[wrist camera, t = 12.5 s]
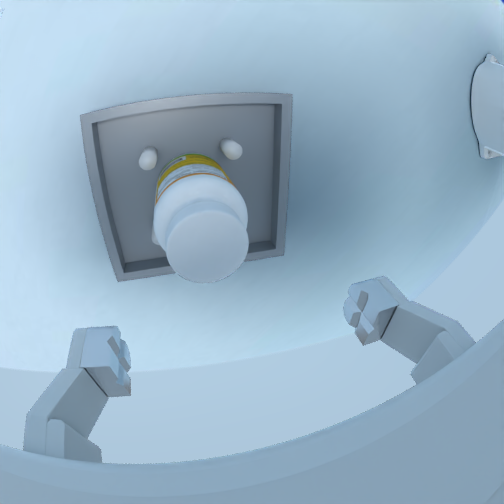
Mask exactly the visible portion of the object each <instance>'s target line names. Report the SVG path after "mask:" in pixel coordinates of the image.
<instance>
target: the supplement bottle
mask: <svg viewBox="0 0 504 504" xmlns="http://www.w3.org/2000/svg"><path fill="white" fill-rule="evenodd" d="M247 223H248V213H247V207H246V204H245V202H244V200H243V198H242V196H241V194H240V193H239V191H238V190H237V188H236V187H235V186H234V184H233V183H232V181H231V180H230V179H229V177H228V176H227V175H226V173H225V172H224V171H223V169H222V168H221V166H220V165H219V164H218V163H217V162H216V161H215V160H213V159H212V158H210V157H208V156H206V155H203V154H200V153H186V154H182V155H179V156H177V157H175V158H174V159H172V160H171V161H169V162H168V163H167V164H166V165H165V166H164V168H163V169H162V171H161V173H160V175H159V177H158V181H157V187H156V196H155V207H154V219H153V224H154V232H155V235H156V238H157V240H158V242H159V244H160V246H161V247H162V248H163V250H164V251H165V252H166V255H167V259H168V262H169V264H170V266H171V267H172V269H173V270H174V271H175V272H176V273H177V274H178V275H180V276H181V277H183V278H185V279H187V280H189V281H192V282H197V283H211V282H216V281H219V280H222V279H224V278H226V277H228V276H229V275H231V274H232V273H234V272H235V271H236V270H237V269H238V268H239V267H240V266H241V264H242V263H243V261H244V260H245V258H246V255H247V252H248V247H249V239H248V234H247V231H246V228H247Z"/></svg>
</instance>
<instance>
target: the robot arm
mask: <svg viewBox="0 0 504 504" xmlns="http://www.w3.org/2000/svg"><path fill="white" fill-rule="evenodd" d="M471 107H472V118H473V124H474V129H475V132H476V135H477V138H478V141H479V148H480V156H481V158H484V159H490V158H494V157H498V156H504V65H501V64H499V62H498V61H497V59H496V58H495V56H494V55H491V54H487V56H486V59H485V61H484V62H483V63H482V64H480V65H479V66H478V68H477V69H476V72H475V75H474V78H473V84H472V94H471ZM348 294H349V295H350V296H349V297H348V298H347V300H346V301H345V303H344V307H343V310H344V316H345V319H346V321H347V322H348V324H349V325H351V326H353V327H355V334H356V335H357V337H358V338H359V340H360V341H361V343H362V344H363V346H364V345H366V344H369V343H372V342H375V341H378V340H381V341H382V342H384V343H385V344H387V345H388V346H390V347H391V348H393V349H395V350H396V351H398V352H399V353H401V354H402V355H404V356H405V357H407V358H409V359H410V360H412V361H413V362H415V363H416V364H417V365H416V366H415V367H414V368H413V370H412V371H411V376H412V378H413V379H414V381H415V382H416V384H417V385H415V386H413V387H412V388H410V389H408V390H406V391H404V392H403V393H401V394H399V395H397V396H395V397H394V398H392V399H390V400H388V401H386V402H384V403H382V404H380V405H378V406H376V407H374V408H372V409H370V410H368V411H366V412H363V413H361V414H359V415H357V416H355V417H352V418H350V419H348V420H345V421H343V422H341V423H338V424H335V425H333V426H330V427H328V428H325V429H322V430H320V431H317V432H314V433H311V434H308V435H305V436H302V437H299V438H296V439H293V440H290V441H286V442H283V443H279V444H276V445H272V446H268V447H264V448H261V449H256V450H252V451H247V452H243V453H238V454H232V455H227V456H222V457H215V458H209V459H201V460H193V461H184V462H172V463H156V464H112V463H102V457H101V449H100V448H99V447H98V446H97V445H95V444H94V443H92V442H91V441H89V440H88V437H89V434H90V433H91V431H92V428H93V427H94V425H95V423H96V421H97V419H98V417H99V415H100V414H101V412H102V410H103V408H104V406H105V404H106V402H107V401H108V397H119V396H130V395H131V379H130V377H129V376H128V374H127V372H128V371H129V369H130V368H131V360H130V353H129V350H128V346H127V344H126V342H125V341H123V340H122V339H120V336H121V332H120V331H119V329H118V327H117V326H105V327H90V328H78V329H75V331H74V332H73V336H72V341H71V345H70V350H69V355H68V360H67V366H66V369H62V370H61V371H60V372H59V374H58V375H57V376H56V377H55V379H54V380H53V381H52V382H51V384H50V385H49V386H48V387H47V389H46V390H45V391H44V392H43V394H42V395H41V396H40V398H39V399H38V400H37V401H36V403H35V404H34V406H33V407H32V408H31V409H30V411H29V412H28V414H27V416H26V424H25V433H24V446H23V447H24V448H23V450H19V449H16V448H12V447H9V446H5V445H2V444H0V504H504V319H503V320H502V321H501V322H500V323H499V324H498V325H497V326H495V327H494V328H493V329H492V330H491V331H490V332H489V333H487V334H486V335H485V336H484V337H483V338H482V339H480V340H479V341H478V342H477V343H476V342H475V341H474V340H473V338H472V337H471V336H470V335H469V334H468V332H467V331H466V330H465V329H464V328H463V327H462V325H461V324H460V323H459V322H458V321H456V320H454V319H452V318H449V317H447V316H445V315H443V314H440V313H438V312H436V311H434V310H432V309H429V308H427V307H425V306H423V305H421V304H419V303H416V302H414V301H409V300H408V299H407V298H406V297H405V296H404V295H403V294H402V293H401V291H400V290H399V289H398V288H397V287H396V286H395V285H394V284H393V283H392V282H391V281H390V280H389V279H388V278H387V277H386V276H381V277H377V278H373V279H369V280H365V281H362V282H358V283H354V284H352V285H351V286H350V287H349V290H348Z"/></svg>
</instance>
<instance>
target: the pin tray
mask: <svg viewBox="0 0 504 504" xmlns="http://www.w3.org/2000/svg"><path fill="white" fill-rule="evenodd" d="M80 120H81V129H82V137H83V144H84V151H85V157H86V163H87V169H88V174H89V179H90V184H91V189H92V193H93V198H94V202H95V207H96V211H97V215H98V219H99V222H100V226H101V230H102V234H103V237H104V241H105V244H106V247H107V251H108V254H109V257H110V260H111V263H112V266H113V269H114V272H115V275H116V278H117V281H118V282H121V281H127V280H134V279H140V278H147V277H153V276H159V275H166V274H172V273H176V272H175V271H174V270H173V269H172V267H171V266H170V264H169V262H168V259H167V255H166V252H165V251H164V250H163V248H162V247H161V246H160V244H159V242H158V240H157V238H156V235H155V232H154V224H153V219H154V207H155V196H156V187H157V181H158V177H159V175H160V173H161V171H162V169H163V168H164V166H165V165H166V164H167V163H168V162H169V161H171V160H172V159H174V158H175V157H177V156H179V155H182V154H186V153H200V154H203V155H206V156H208V157H210V158H212V159H213V160H215V161H216V162H217V163H218V164H219V165H220V166H221V168H222V169H223V171H224V172H225V173H226V175H227V176H228V177H229V179H230V180H231V181H232V183H233V184H234V186H235V187H236V188H237V190H238V191H239V193H240V194H241V196H242V198H243V200H244V202H245V204H246V207H247V213H248V223H247V228H246V231H247V234H248V239H249V247H248V252H247V255H246V258H245V260H244V261H243V262H246V261H252V260H258V259H264V258H270V257H276V256H282V255H284V247H285V233H286V219H287V204H288V188H289V170H290V149H291V125H292V94H281V93H217V94H200V95H188V96H178V97H170V98H162V99H155V100H148V101H142V102H136V103H130V104H125V105H120V106H115V107H111V108H106V109H102V110H98V111H94V112H90V113H86V114H82V115H80Z"/></svg>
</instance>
